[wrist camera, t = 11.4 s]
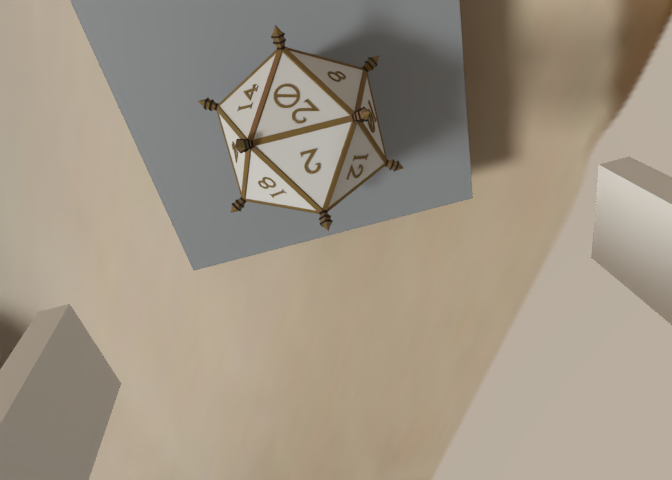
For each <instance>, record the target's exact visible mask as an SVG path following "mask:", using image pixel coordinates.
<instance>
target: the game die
mask: <svg viewBox="0 0 672 480" xmlns="http://www.w3.org/2000/svg"><path fill="white" fill-rule="evenodd" d="M284 35H285V33H283V32H282V31H281V30H280V29H279V28H278V27H277V26H276V25H275V27H274V31H273V34H272V36H271V38H273V44H275V45H276V47H277V49H276V50H275V51H274V52H273V53H272V54H271V55H270V56H269V57H268V58H267V59H266V60H265V61H263V62H262V63H261V64H260V65H259V66H258V67H257V68H256V69H255V70H254V71H253V72H252V73H251V74H250V75H249V76H248V77H247V78H246V79H245V80H243V81H242V82H241V83H240V84H239V85H238V86H237V87H236V88H235V89H234V90H233V91H232V92H231V93H230V94H229V95H228V96H227V97H226V98H224V99H223V100H222V101H221V102H220V103H216V102H214V100H213V99H212V100H210V99H209V98H208V97H207V99H204V100H200V101H198V102H199V103H200V104H201V105H202V106H203V107H204V109H205V110H207V109H209V110H210V111H212V110H216V111H217V114H218V118H219V121H220V125H221V128H222V132H223V135H224V139H225V142H226V145H227V149H228V152H229V156H230V159H231V163H232V166H233V170H234V173H235V177H236V180H237V184H238V187H239V191H240V194H241V198H240V199H238V200H237V199H236V200H235V202H234V203H232V208H231V213H233V212H237V211H241V209H242V208H244V205H245V203H246V202H252V203H258V204H264V205H270V206H275V207H281V208H287V209H293V210H299V211H304V212H310V213H316V214H320V218H319V220H320V222H321V223H320V225H321V226H322V227H324V228H325V229H326V230H327V231H328V232H329V228H330V225H331V224H332V222H333V220H331V215H329V214H328V211H330V210H331V209H332V208H333V207H335V206H336V205H337V204H338V203H340V202H341V201H342V200H343V199H345V198H346V197H347V196H348V195H350V194H351V193H352V192H353V191H354V190H356V189H357V188H358V187H359V186H361V185H362V184H363V183H364V182H366V181H367V180H368V179H369V178H371V177H372V176H373V175H374V174H376V173H377V172H378V171H379V170H381V169H382V168H383V167H384V166H386V167H388V168H389V170H394V172H395V171H397V170H401V169H404V167H403V166H402V165H401V164H400V163H399V161H394V160H393V159H392V160H388V159H387V156H386V152H385V147H384V143H383V139H382V134H381V130H380V125H379V121H378V117H377V112H376V108H375V103H374V99H373V94H372V90H371V86H370V81H369V77H368V72H369V71H370V70H373V69H374V67H376V66H377V62H378V58H379V55H378V56H374V57H368V60H367V61H365V64H364V66H363V67H358V66H355V65H351V64H347V63H343V62H340V61H336V60H332V59H329V58H325V57H321V56H317V55H314V54H310V53H306V52H303V51H299V50H295V49H291V48H288V47H285V41H286V39H285V38H284Z"/></svg>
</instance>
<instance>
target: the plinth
mask: <svg viewBox="0 0 672 480" xmlns="http://www.w3.org/2000/svg"><path fill="white" fill-rule="evenodd" d="M70 1H71V3H72V6H73V8H74V10H75V12H76V14H77V17H78V19H79V21H80V23H81V25H82V27H83V30H84V32H85V34H86V36H87V38H88V41H89V43H90V45H91V47H92V49H93V51H94V54H95V56H96V58H97V60H98V62H99V65H100V67H101V69H102V71H103V73H104V76H105V78H106V80H107V82H108V84H109V86H110V89H111V91H112V93H113V95H114V97H115V100H116V102H117V104H118V106H119V108H120V111H121V113H122V115H123V117H124V119H125V121H126V124H127V126H128V128H129V130H130V132H131V135H132V137H133V139H134V141H135V143H136V145H137V148H138V150H139V152H140V154H141V156H142V159H143V161H144V163H145V165H146V167H147V170H148V172H149V174H150V176H151V178H152V180H153V183H154V185H155V187H156V189H157V191H158V194H159V196H160V198H161V200H162V202H163V204H164V207H165V209H166V211H167V213H168V215H169V218H170V220H171V222H172V224H173V226H174V229H175V231H176V233H177V235H178V237H179V239H180V242H181V244H182V246H183V248H184V250H185V253H186V255H187V257H188V259H189V261H190V263H191V266H192V268H193V270H197V269H201V268H205V267H209V266H213V265H217V264H220V263H224V262H228V261H232V260H236V259H240V258H244V257H247V256H251V255H255V254H259V253H263V252H267V251H270V250H274V249H278V248H282V247H286V246H290V245H294V244H297V243H301V242H305V241H309V240H313V239H317V238H321V237H324V236H328V235H332V234H336V233H340V232H344V231H348V230H351V229H355V228H359V227H363V226H367V225H371V224H374V223H378V222H382V221H386V220H390V219H394V218H398V217H401V216H405V215H409V214H413V213H417V212H421V211H425V210H428V209H432V208H436V207H440V206H444V205H448V204H452V203H455V202H459V201H463V200H467V199H471V198H473V196H472V181H471V166H470V151H469V136H468V121H467V106H466V91H465V76H464V61H463V47H462V32H461V17H460V2H459V0H70ZM275 25H276V26H277V27H278V28H279V29H280V30H281V31H282V32H283V33H285V35H284V38H285V39H286V41H285V47H288V48H291V49H295V50H299V51H303V52H306V53H310V54H314V55H317V56H321V57H325V58H329V59H332V60H336V61H340V62H343V63H347V64H351V65H355V66H358V67H363V66H364V64H365V61H367V60H368V57H374V56H378V55H379V58H378V62H377V66H376V67H374V69H373V70H370V71H369V72H368V77H369V81H370V86H371V90H372V94H373V99H374V103H375V108H376V112H377V117H378V121H379V125H380V130H381V134H382V139H383V143H384V147H385V152H386V156H387V159H388V160H392V159H393V160H394V161H399V163H400V164H401V165H402V166H403V167H404V169H401V170H397V171H395V172H394V170H389V168H388V167H386V166H384V167H383V168H382V169H381V170H379V171H378V172H377V173H376V174H374V175H373V176H372V177H371V178H369V179H368V180H367V181H366V182H364V183H363V184H362V185H361V186H359V187H358V188H357V189H356V190H354V191H353V192H352V193H351V194H350V195H348V196H347V197H346V198H345V199H343V200H342V201H341V202H340V203H338V204H337V205H336V206H335V207H333V208H332V209H331V210H330V211H328V214H329V215H331V220H333V222H332V224H331V225H330V228H329V232H328V231H327V230H326V229H325V228H324V227H322V226H321V225H320V223H321V222H320V220H319V218H320V214H316V213H310V212H304V211H299V210H293V209H287V208H281V207H275V206H270V205H264V204H258V203H252V202H246V203H245V205H244V208H242V209H241V211H237V212H233V213H231V208H232V203H234V202H235V200H236V199H237V200H238V199H240V198H241V194H240V191H239V187H238V184H237V180H236V177H235V173H234V170H233V166H232V163H231V159H230V156H229V152H228V149H227V145H226V142H225V139H224V135H223V132H222V128H221V125H220V121H219V118H218V114H217V111H216V110H212V111H210V110H209V109H207V110H205V109H204V107H203V106H202V105H201V104H200V103H199V102H198V101H200V100H204V99H207V97H208V98H209V99H210V100H212V99H213V100H214V102H216V103H220V102H221V101H222V100H223V99H224V98H226V97H227V96H228V95H229V94H230V93H231V92H232V91H233V90H234V89H235V88H236V87H237V86H238V85H239V84H240V83H241V82H242V81H243V80H245V79H246V78H247V77H248V76H249V75H250V74H251V73H252V72H253V71H254V70H255V69H256V68H257V67H258V66H259V65H260V64H261V63H262V62H263V61H265V60H266V59H267V58H268V57H269V56H270V55H271V54H272V53H273V52H274V51H275V50H276V49H277V47H276V45H275V44H273V38H271V36H272V34H273V31H274V27H275Z"/></svg>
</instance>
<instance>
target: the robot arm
mask: <svg viewBox="0 0 672 480" xmlns="http://www.w3.org/2000/svg"><path fill="white" fill-rule="evenodd" d="M597 183H598V184H597V195H596V207H595V220H594V232H593V246H592V259H594V260H595V261H596V262H597V263H598V264H600V265H601V266H602V267H603V268H604V269H606V270H607V271H608V272H609V273H610V274H612V275H613V276H614V277H615V278H617V279H618V280H619V281H620V282H621V283H623V284H624V285H625V286H626V287H627V288H628V289H630V290H631V291H632V292H633V293H634V294H635V295H637V296H638V297H639V298H640V299H641V300H643V301H644V302H645V303H646V304H647V305H649V306H650V307H651V308H652V309H653V310H655V311H656V312H657V313H658V314H659V315H661V316H662V317H663V318H664V319H665V320H667V321H668V322H669V323H670V324H671V325H672V177H670V176H668V175H666V174H664V173H662V172H660V171H658V170H656V169H654V168H652V167H649V166H647V165H645V164H643V163H641V162H639V161H637V160H635V159H633V158H631V157H626V158H622V159H619V160H615V161H611V162H607V163H603V164H600V165H599V170H598V182H597ZM120 385H121V383H120V381H119V379H118V378H117V376H116V375H115V373H114V372H113V370H112V369H111V367H110V366H109V364H108V362H107V361H106V359H105V358H104V356H103V355H102V353H101V352H100V350H99V349H98V347H97V345H96V344H95V342H94V341H93V339H92V338H91V336H90V335H89V333H88V332H87V330H86V329H85V327H84V325H83V324H82V322H81V321H80V319H79V318H78V316H77V315H76V313H75V312H74V310H73V308H72V307H71V305H70V304H68V305H64V306H60V307H56V308H52V309H49V310H45V311H41V312H38V313H37V314H36V316H35V318H34V319H33V321H32V322H31V324H30V325H29V327H28V328H27V330H26V331H25V333H24V334H23V336H22V337H21V339H20V340H19V342H18V343H17V345H16V346H15V348H14V349H13V351H12V352H11V354H10V356H9V357H8V359H7V360H6V362H5V363H4V365H3V366H2V368H1V369H0V480H89V477H90V474H91V471H92V468H93V465H94V462H95V459H96V456H97V453H98V450H99V447H100V444H101V441H102V438H103V435H104V432H105V429H106V427H107V424H108V421H109V418H110V415H111V412H112V409H113V406H114V403H115V400H116V397H117V394H118V391H119V388H120Z"/></svg>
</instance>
